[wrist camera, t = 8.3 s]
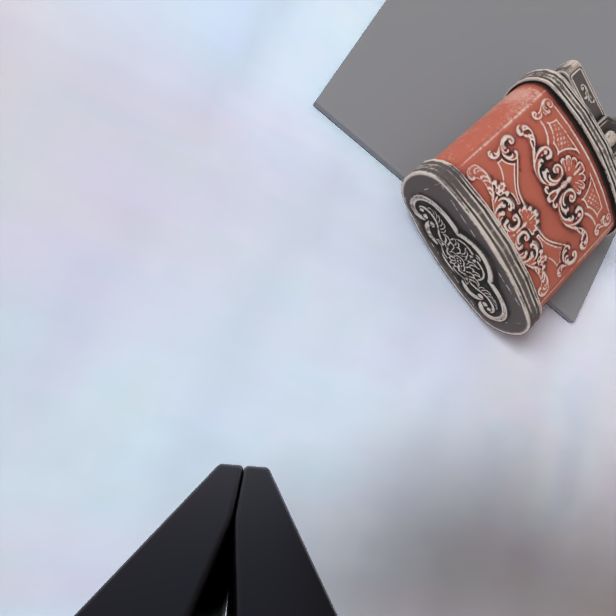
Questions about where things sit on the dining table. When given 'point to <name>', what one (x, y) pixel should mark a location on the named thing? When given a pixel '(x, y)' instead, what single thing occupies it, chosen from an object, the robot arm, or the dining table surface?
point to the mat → (465, 80)
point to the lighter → (520, 196)
